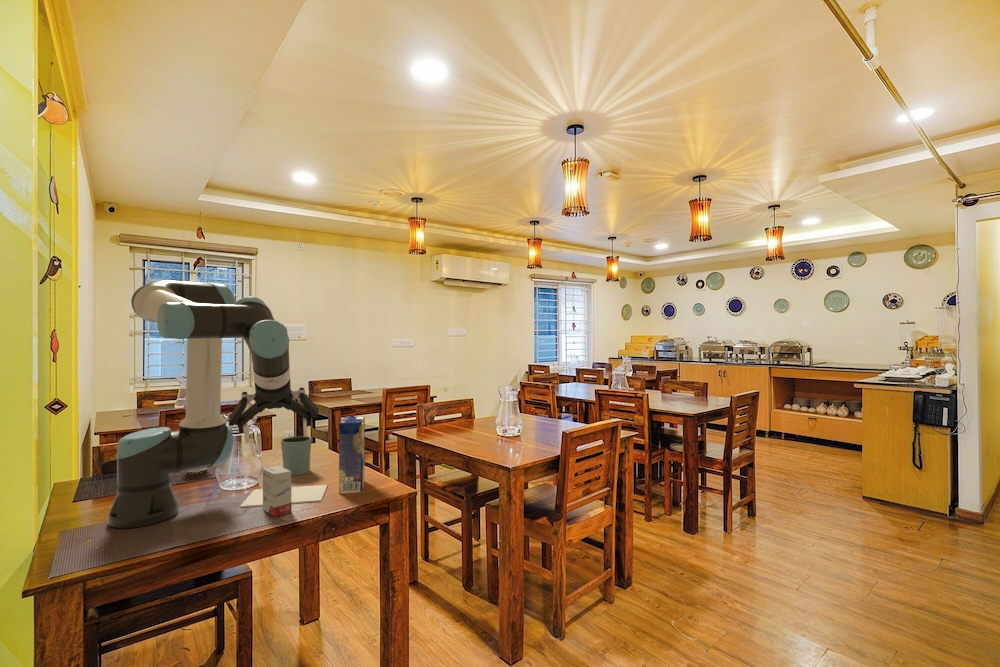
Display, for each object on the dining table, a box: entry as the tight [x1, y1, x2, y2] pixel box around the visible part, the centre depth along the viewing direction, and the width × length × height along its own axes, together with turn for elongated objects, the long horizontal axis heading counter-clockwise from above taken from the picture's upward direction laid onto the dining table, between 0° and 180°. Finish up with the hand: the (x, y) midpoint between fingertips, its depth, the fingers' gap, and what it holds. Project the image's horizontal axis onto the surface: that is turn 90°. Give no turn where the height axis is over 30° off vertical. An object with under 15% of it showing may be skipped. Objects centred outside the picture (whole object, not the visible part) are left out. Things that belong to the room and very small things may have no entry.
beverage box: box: [338, 415, 366, 495], centre depth 151 cm, size 7×11×22 cm, turn 12°
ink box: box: [262, 465, 292, 518], centre depth 131 cm, size 9×5×12 cm, turn 47°
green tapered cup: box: [280, 435, 312, 477], centre depth 167 cm, size 10×10×12 cm
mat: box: [239, 484, 329, 508], centre depth 143 cm, size 22×14×1 cm, turn 103°
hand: (276, 435), depth 122 cm, fingers open, 13 cm apart
